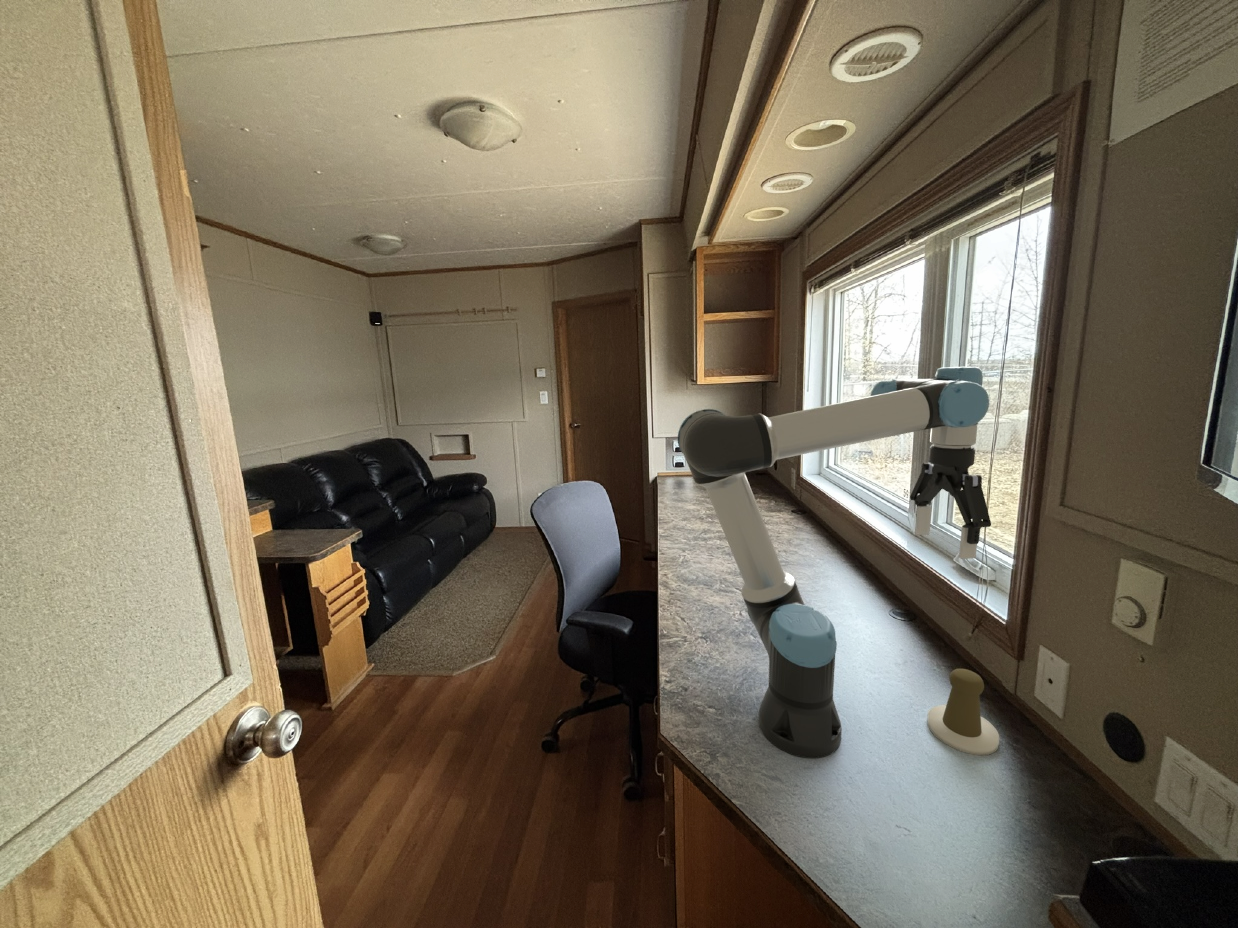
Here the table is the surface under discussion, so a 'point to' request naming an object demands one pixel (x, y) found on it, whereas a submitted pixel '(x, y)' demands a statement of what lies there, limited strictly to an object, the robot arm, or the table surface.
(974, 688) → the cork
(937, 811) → the table surface
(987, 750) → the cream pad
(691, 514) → the table surface
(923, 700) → the table surface
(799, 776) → the table surface
